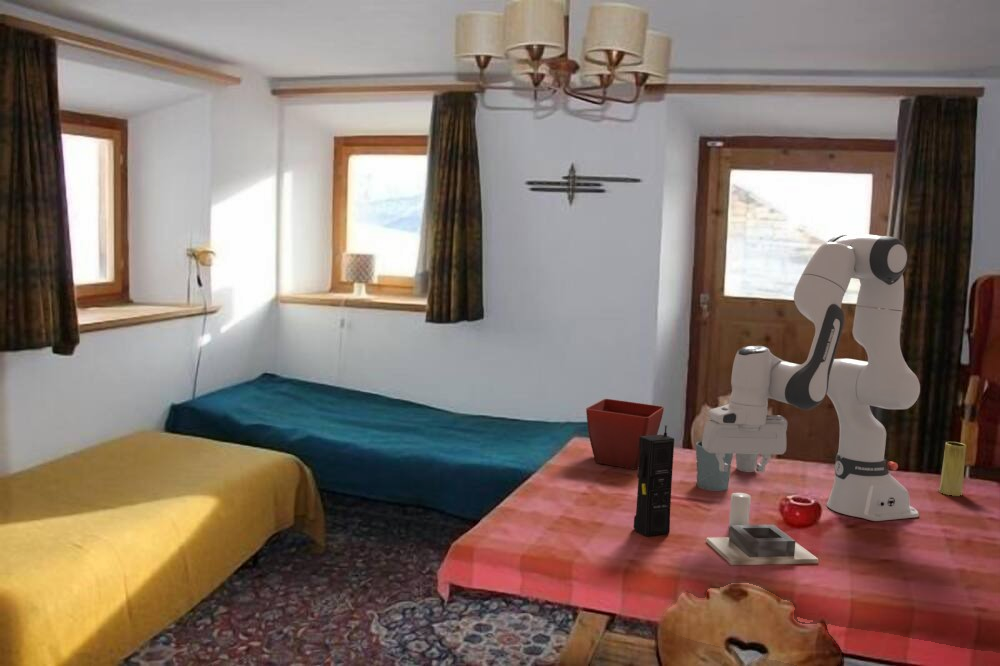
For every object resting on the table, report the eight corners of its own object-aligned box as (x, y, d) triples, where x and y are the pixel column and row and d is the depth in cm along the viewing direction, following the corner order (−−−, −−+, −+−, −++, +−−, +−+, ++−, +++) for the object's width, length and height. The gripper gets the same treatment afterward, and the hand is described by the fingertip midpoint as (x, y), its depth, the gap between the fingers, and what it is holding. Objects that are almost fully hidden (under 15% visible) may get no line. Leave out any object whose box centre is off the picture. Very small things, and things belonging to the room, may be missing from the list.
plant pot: (661, 459, 279) (665, 405, 277) (644, 474, 262) (648, 417, 260) (601, 450, 287) (604, 398, 285) (581, 464, 269) (584, 408, 267)
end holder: (787, 540, 212) (788, 521, 212) (817, 563, 198) (819, 543, 198) (706, 541, 209) (707, 522, 208) (731, 565, 195) (733, 545, 194)
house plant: (778, 478, 264) (783, 423, 262) (731, 476, 264) (735, 421, 262) (765, 465, 278) (769, 413, 276) (720, 463, 278) (724, 410, 276)
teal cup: (738, 489, 252) (741, 446, 250) (712, 493, 246) (716, 450, 244) (710, 479, 260) (713, 438, 258) (685, 483, 254) (688, 441, 253)
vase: (939, 494, 255) (944, 444, 254) (937, 488, 261) (943, 440, 259) (963, 497, 253) (969, 447, 251) (961, 492, 259) (966, 443, 257)
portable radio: (644, 538, 209) (651, 431, 206) (628, 529, 214) (635, 425, 211) (671, 534, 213) (679, 429, 210) (655, 525, 218) (663, 423, 215)
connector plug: (743, 524, 222) (745, 492, 221) (751, 530, 218) (754, 498, 217) (725, 524, 221) (728, 492, 220) (733, 531, 217) (736, 498, 216)
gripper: (781, 412, 221) (776, 468, 222) (702, 410, 217) (696, 467, 219) (794, 418, 215) (788, 475, 216) (712, 416, 211) (707, 474, 213)
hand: (741, 471), depth 218 cm, fingers open, 8 cm apart
